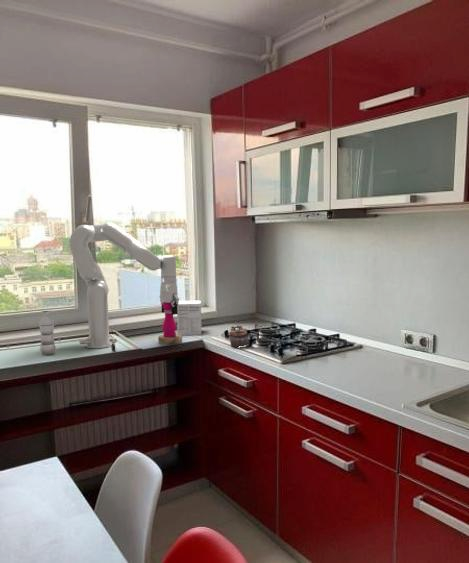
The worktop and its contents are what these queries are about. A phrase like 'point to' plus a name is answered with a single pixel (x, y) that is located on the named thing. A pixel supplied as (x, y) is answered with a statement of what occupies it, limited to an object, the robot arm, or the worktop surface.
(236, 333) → the cupcake
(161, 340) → the walnut pedestal
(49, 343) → the plastic bottle
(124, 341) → the worktop surface
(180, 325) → the supplement box
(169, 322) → the pepper mill
